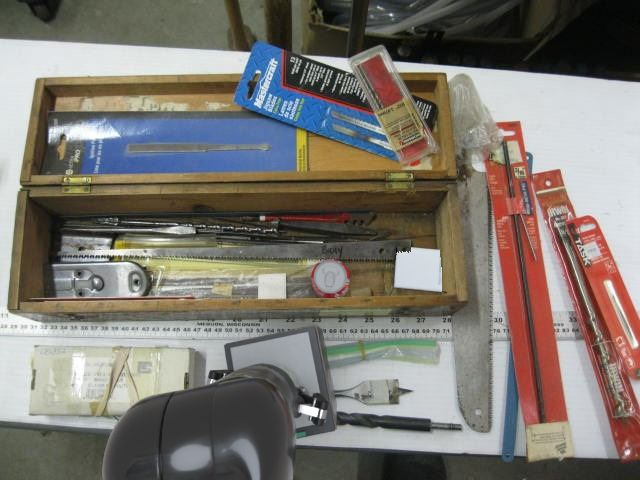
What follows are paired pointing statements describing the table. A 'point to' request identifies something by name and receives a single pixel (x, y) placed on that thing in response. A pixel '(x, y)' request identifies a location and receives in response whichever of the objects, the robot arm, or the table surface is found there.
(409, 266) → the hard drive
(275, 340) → the scale
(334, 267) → the soda can
